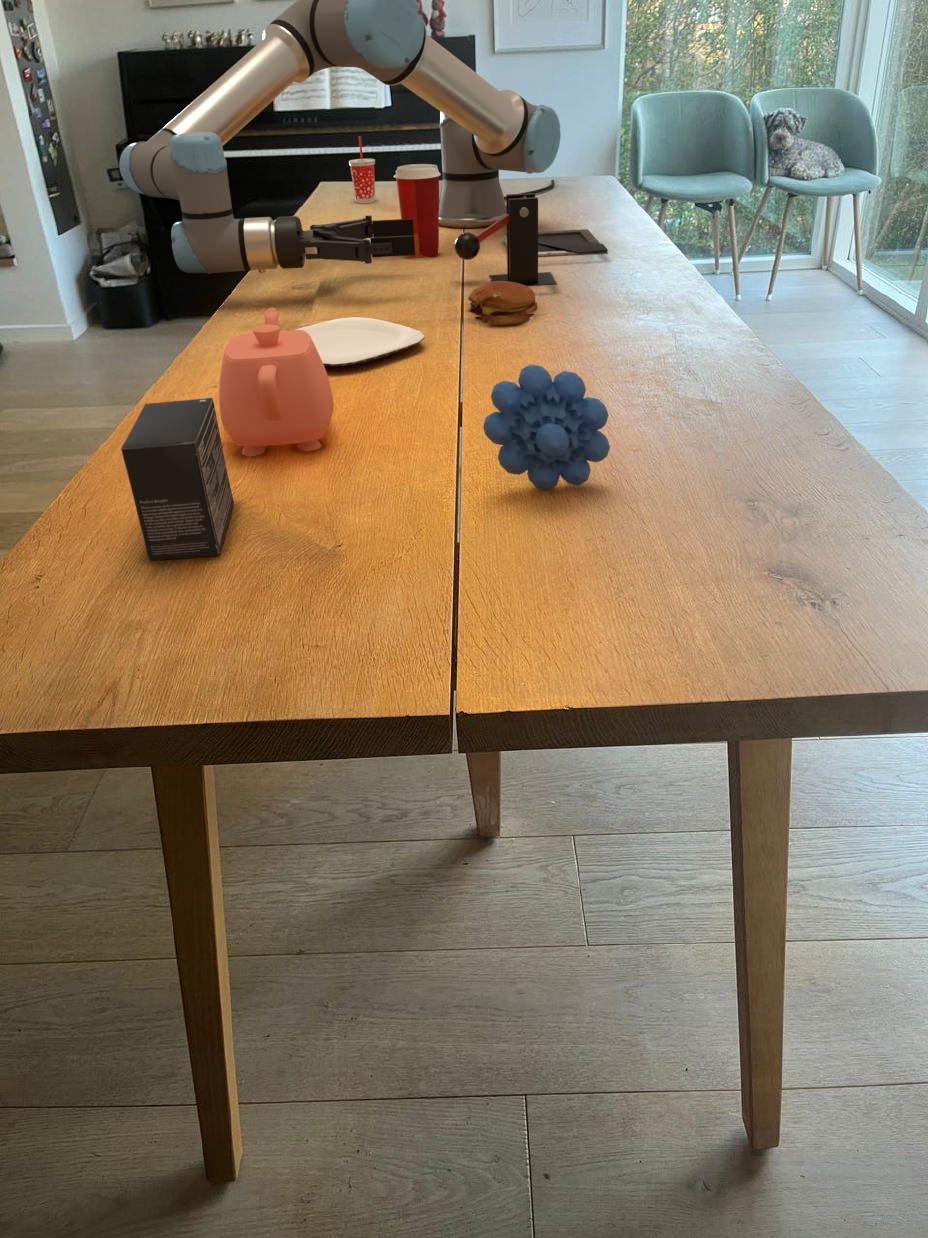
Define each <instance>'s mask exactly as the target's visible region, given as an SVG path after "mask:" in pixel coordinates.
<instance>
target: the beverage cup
mask: <svg viewBox="0 0 928 1238" xmlns="http://www.w3.org/2000/svg"><path fill="white" fill-rule="evenodd" d="M358 145H359V156H360V158H356V159H350V160H348V165H349V167H350V174H351V179H352V186H353V187H352V188H353V193H354V198H355V199H354V200H355V203H356V204H372V203H375V202H376V184H375V183H376V182H375V180H376V178H375V164H376V159H374V158H364V157H363V155H364V154H363V146H362V145H363V144H362V136H361V135H360V136H358Z"/></svg>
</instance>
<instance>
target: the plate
mask: <svg viewBox="0 0 928 1238" xmlns="http://www.w3.org/2000/svg"><path fill="white" fill-rule="evenodd" d="M295 330H303V331H305V332H307V333H308V334H309V335H310V337H311V339H312V341H313V343H314V345H315V347H316V349H317V351H318V353H319V355H320V358H321V360H322V362H323V364H324V367H349V366H356V365H362V364H366V363H370V362H373V361H377V360H379V359H382V358H385V357H388V356H391V355H392V354H395V353H399V352H401V351H404V350H407V349H409V348H412V347H415V346H416V345H418V344H420V343H421V342H422V341H423V340H425V338H426V337H425V335H424V334H423V333H422V332H421V331H420V330H418V329H415V328H413V327H409V326H406V325H403V324H399V323H395V322H390V321H386V320H382V319H377V318H371V317H361V316H351V317H341V318H336V319H331V320H327V321H322V322H317V323H314V324H310V325H306V326H303V327H299V328H296V329H295Z"/></svg>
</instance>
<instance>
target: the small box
mask: <svg viewBox="0 0 928 1238" xmlns="http://www.w3.org/2000/svg"><path fill="white" fill-rule="evenodd" d="M222 443H223V442H222V437H221V433H220V428H219V422H218V418H217V411H216V408H215V401H214V398H213V397H207V398H206V397H205V398H195V399H184V400H183V399H182V400H172V401H162V402H161V401H160V402H150V403H149V402H148V403H144V405H143V406H142V409H141V411H140V412H139V415H138V416H137V419H136V420H135V422H134V424H133V426H132V427H131V429H130V431H129V433H128V435H127V437H126V438H125V440H124V441H123V443H122V446H121V447H120V451H121V454H122V458H123V463H124V466H125V470H126V473H127V478H128V481H129V486H130V489H131V494H132V498H133V501H134V505H135V510H136V515H137V518H138V522H139V526H140V530H141V533H142V538H143V543H144V546H145V551H146V555H147V558H148V560H149V561H161V560H163V561H164V560H174V559H175V560H176V559H187V558H189V559H190V558H201V557H213V556H214V557H215V556H219V555H221V551H222V548H223V546H224V541H225V537H226V533H227V530H228V526H229V524H230V523H229V522H230V519H231V515H232V512H233V509H234V508H233V507H234V504H235V501H234V496H233V493H232V488H231V484H230V483H231V482H230V479H229V474H228V468H227V465H226V459H225V454H224V449H223V444H222Z"/></svg>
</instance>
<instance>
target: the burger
mask: <svg viewBox="0 0 928 1238" xmlns="http://www.w3.org/2000/svg"><path fill="white" fill-rule="evenodd" d="M467 299H468V301H470V302H469V305H470V307H469V312H471V313H474V315H475V316H474V319H475V320H478V321H479V322H481V323H488V322H489V323H491V324H492V325H494V326H501V327H502V326H503V327H505V326H514V325H519V324H523V323H525V322H528V320H530V318H531V317H533V316H534V315H535V313H532V312H534V311H535V310H537V308H538V303H537V301H536V294H535V291H534V290H533V289H532V288H531V287H530V286H526V285H523V284H520V283H515V282H508V281H494V282H491V281H490V282H485V283H483V284H481V285H478V286H476V287H475V288H473V290H472V291H471V292H470V293H469V295H468V298H467Z"/></svg>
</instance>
